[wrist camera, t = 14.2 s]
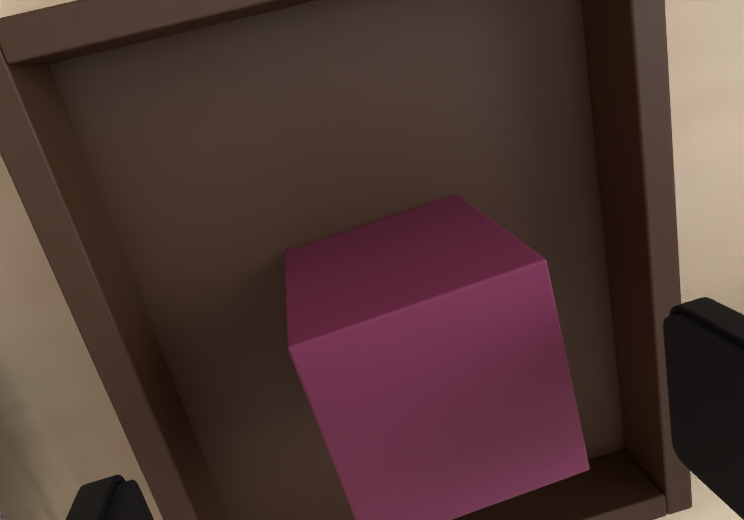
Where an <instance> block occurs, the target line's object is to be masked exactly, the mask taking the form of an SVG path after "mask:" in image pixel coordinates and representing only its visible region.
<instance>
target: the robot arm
mask: <svg viewBox="0 0 744 520" xmlns="http://www.w3.org/2000/svg"><path fill="white" fill-rule="evenodd" d="M663 334H664V347H665V360H666V374H667V387H668V400H669V413H670V426H671V439H672V446H673V449H674V451H675V453H676V455H677V457H678V458H679V460H680V461H681V462H682V463H683V464H684V465H685V466H686V467H687V468H688V469H689V470H690V471H691V472H692V473H693V474H694V475H696V476H697V477H698V478H699V479H700V480H701V481H702V482H703V483H704V484H705V485H706V486H707V487H709V488H710V489H711V490H712V491H713V492H714V493H715V494H716V495H717V496H718V497H719V498H720V499H722V500H723V501H724V502H725V503H726V504H727V505H728V506H729V507H730V508H731V509H732V510H733V511H735V512H736V513H737V514H738V515H739V516H740V517H741V518H742V519H743V520H744V315H742V314H740V313H738V312H736V311H734V310H732V309H730V308H728V307H726V306H724V305H722V304H720V303H718V302H716V301H714V300H712V299H710V298H707V297H704V298H699V299H696V300H693V301H689V302H686V303H683V304H680V305H676V306H674V307H673V308H671V310H670V313H669V316H668V317H666V318H665V319H664V322H663ZM66 520H154V519H153V517H152V514H151V512H150V510H149V508H148V505H147V503H146V501H145V499H144V496H143V494H142V492H141V490H140V487H139V485H138V484H137V482H136V481H135V480H129V481H125V479H124V478H123V477H122V476H121V475H115V476H111V477H108V478H105V479H101V480H98V481H95V482H92V483H88V484H85V485H83V486H81V487H80V489H79V491H78V493H77V495H76V497H75V500H74V502H73V504H72V506H71V509H70V511H69V513H68V515H67V518H66Z"/></svg>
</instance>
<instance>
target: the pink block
mask: <svg viewBox="0 0 744 520" xmlns="http://www.w3.org/2000/svg"><path fill="white" fill-rule="evenodd" d="M284 263H285V287H286V312H287V337H288V351H289V353H290V356H291V358H292V361H293V363H294V366H295V369H296V371H297V374H298V376H299V379H300V381H301V384H302V386H303V389H304V391H305V394H306V396H307V399H308V401H309V404H310V406H311V409H312V411H313V414H314V416H315V419H316V422H317V424H318V427H319V429H320V432H321V434H322V437H323V439H324V442H325V444H326V447H327V449H328V452H329V454H330V457H331V459H332V462H333V464H334V467H335V470H336V472H337V475H338V477H339V480H340V482H341V485H342V487H343V490H344V492H345V495H346V497H347V500H348V502H349V505H350V507H351V510H352V512H353V515H354V518H355V520H452V519H454V518H457V517H460V516H463V515H466V514H468V513H471V512H474V511H477V510H479V509H482V508H485V507H488V506H490V505H493V504H496V503H499V502H502V501H504V500H507V499H510V498H513V497H515V496H518V495H521V494H524V493H526V492H529V491H532V490H535V489H538V488H540V487H543V486H546V485H549V484H551V483H554V482H557V481H560V480H563V479H565V478H568V477H571V476H574V475H576V474H579V473H582V472H585V471H587V470H589V462H588V458H587V453H586V448H585V443H584V438H583V434H582V429H581V424H580V419H579V414H578V410H577V405H576V400H575V395H574V390H573V386H572V381H571V376H570V371H569V366H568V361H567V357H566V352H565V347H564V342H563V337H562V333H561V328H560V323H559V318H558V313H557V309H556V304H555V299H554V294H553V289H552V285H551V280H550V275H549V270H548V265H547V261H546V260H545V259H544V258H543V257H542V256H540V255H539V254H538V253H536V252H535V251H534V250H532V249H531V248H529V247H528V246H527V245H525V244H524V243H523V242H521V241H520V240H519V239H517V238H516V237H514V236H513V235H512V234H510V233H509V232H508V231H506V230H505V229H504V228H502V227H501V226H500V225H498V224H497V223H495V222H494V221H493V220H491V219H490V218H489V217H487V216H486V215H485V214H483V213H482V212H480V211H479V210H478V209H476V208H475V207H474V206H472V205H471V204H470V203H468V202H467V201H465V200H464V199H463V198H461V197H460V196H459V195H457V194H455V195H452V196H449V197H446V198H443V199H440V200H437V201H434V202H431V203H428V204H425V205H422V206H419V207H416V208H413V209H410V210H407V211H404V212H401V213H398V214H395V215H392V216H389V217H386V218H383V219H380V220H377V221H374V222H371V223H368V224H365V225H362V226H359V227H356V228H353V229H350V230H347V231H344V232H341V233H338V234H335V235H332V236H329V237H326V238H323V239H320V240H317V241H314V242H312V243H309V244H306V245H303V246H300V247H297V248H294V249H291V250H288V251H285V252H284Z"/></svg>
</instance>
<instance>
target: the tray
mask: <svg viewBox="0 0 744 520" xmlns="http://www.w3.org/2000/svg"><path fill="white" fill-rule="evenodd" d="M0 153H1V156H2V158H3V160H4V162H5V165H6V167H7V169H8V171H9V174H10V176H11V178H12V180H13V183H14V185H15V187H16V189H17V192H18V194H19V196H20V198H21V201H22V203H23V205H24V207H25V210H26V212H27V214H28V216H29V219H30V221H31V223H32V225H33V228H34V230H35V232H36V234H37V237H38V239H39V241H40V243H41V246H42V248H43V250H44V252H45V255H46V257H47V259H48V261H49V264H50V266H51V268H52V270H53V273H54V275H55V277H56V279H57V282H58V284H59V286H60V288H61V291H62V293H63V295H64V297H65V299H66V302H67V304H68V306H69V308H70V311H71V313H72V315H73V317H74V320H75V322H76V324H77V326H78V329H79V331H80V333H81V335H82V338H83V340H84V342H85V344H86V347H87V349H88V351H89V353H90V356H91V358H92V360H93V362H94V365H95V367H96V369H97V371H98V374H99V376H100V378H101V380H102V383H103V385H104V387H105V389H106V392H107V394H108V396H109V398H110V401H111V403H112V405H113V407H114V410H115V412H116V414H117V416H118V419H119V421H120V423H121V425H122V428H123V430H124V432H125V434H126V437H127V439H128V441H129V443H130V446H131V448H132V450H133V452H134V455H135V457H136V459H137V461H138V464H139V466H140V468H141V470H142V473H143V475H144V477H145V479H146V481H147V484H148V486H149V488H150V490H151V493H152V495H153V497H154V499H155V502H156V504H157V506H158V508H159V511H160V513H161V515H162V517H163V520H355V518H354V515H353V512H352V510H351V507H350V505H349V502H348V500H347V497H346V495H345V492H344V490H343V487H342V485H341V482H340V480H339V477H338V475H337V472H336V470H335V467H334V464H333V462H332V459H331V457H330V454H329V452H328V449H327V447H326V444H325V442H324V439H323V437H322V434H321V432H320V429H319V427H318V424H317V422H316V419H315V416H314V414H313V411H312V409H311V406H310V404H309V401H308V399H307V396H306V394H305V391H304V389H303V386H302V384H301V381H300V379H299V376H298V374H297V371H296V369H295V366H294V363H293V361H292V358H291V356H290V353H289V351H288V337H287V312H286V287H285V263H284V252H285V251H288V250H291V249H294V248H297V247H300V246H303V245H306V244H309V243H312V242H314V241H317V240H320V239H323V238H326V237H329V236H332V235H335V234H338V233H341V232H344V231H347V230H350V229H353V228H356V227H359V226H362V225H365V224H368V223H371V222H374V221H377V220H380V219H383V218H386V217H389V216H392V215H395V214H398V213H401V212H404V211H407V210H410V209H413V208H416V207H419V206H422V205H425V204H428V203H431V202H434V201H437V200H440V199H443V198H446V197H449V196H452V195H455V194H457V195H459V196H460V197H461V198H463V199H464V200H465V201H467V202H468V203H470V204H471V205H472V206H474V207H475V208H476V209H478V210H479V211H480V212H482V213H483V214H485V215H486V216H487V217H489V218H490V219H491V220H493V221H494V222H495V223H497V224H498V225H500V226H501V227H502V228H504V229H505V230H506V231H508V232H509V233H510V234H512V235H513V236H514V237H516V238H517V239H519V240H520V241H521V242H523V243H524V244H525V245H527V246H528V247H529V248H531V249H532V250H534V251H535V252H536V253H538V254H539V255H540V256H542V257H543V258H544V259H545V260H546V261H547V265H548V270H549V275H550V280H551V285H552V289H553V294H554V299H555V304H556V309H557V313H558V318H559V323H560V328H561V333H562V337H563V342H564V347H565V352H566V357H567V361H568V366H569V371H570V376H571V381H572V386H573V390H574V395H575V400H576V405H577V410H578V414H579V419H580V424H581V429H582V434H583V438H584V443H585V448H586V453H587V458H588V462H589V470H587V471H585V472H582V473H579V474H576V475H574V476H571V477H568V478H565V479H563V480H560V481H557V482H554V483H551V484H549V485H546V486H543V487H540V488H538V489H535V490H532V491H529V492H526V493H524V494H521V495H518V496H515V497H513V498H510V499H507V500H504V501H502V502H499V503H496V504H493V505H490V506H488V507H485V508H482V509H479V510H477V511H474V512H471V513H468V514H466V515H463V516H460V517H457V518H454V519H452V520H653V519H657V518H660V517H663V516H666V514H673V513H676V512H679V511H682V510H685V509H689V508H691V507H692V496H691V478H690V470H689V469H688V468H687V467H686V466H685V465H684V464H683V463H682V462H681V461H680V460H679V458H678V457H677V455H676V453H675V451H674V449H673V446H672V439H671V426H670V413H669V400H668V387H667V374H666V360H665V347H664V334H663V322H664V319H665V318H666V317H668V316H669V313H670V310H671V308H673V307H674V306H676V305H680V304H681V294H680V275H679V257H678V239H677V220H676V202H675V184H674V165H673V147H672V128H671V110H670V92H669V73H668V55H667V37H666V18H665V0H77V1H72V2H68V3H64V4H59V5H55V6H51V7H46V8H42V9H38V10H33V11H29V12H25V13H21V14H16V15H12V16H8V17H3V18H0Z"/></svg>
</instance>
